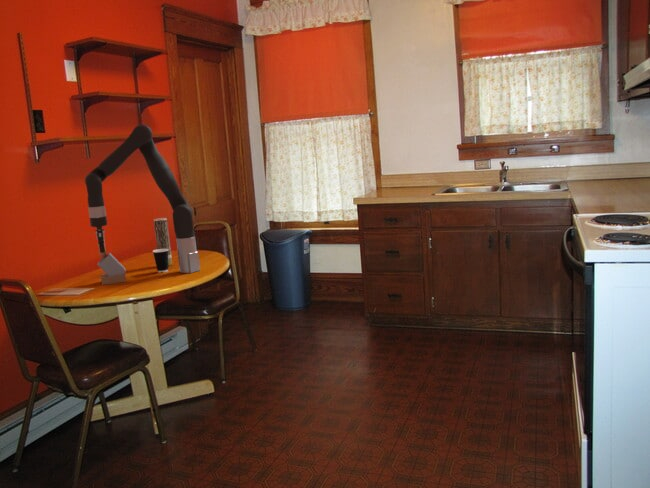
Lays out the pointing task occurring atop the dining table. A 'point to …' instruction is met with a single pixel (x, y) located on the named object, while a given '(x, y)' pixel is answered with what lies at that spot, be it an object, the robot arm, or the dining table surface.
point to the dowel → (102, 255)
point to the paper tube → (162, 236)
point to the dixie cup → (161, 259)
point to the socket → (111, 270)
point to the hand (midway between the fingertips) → (102, 251)
